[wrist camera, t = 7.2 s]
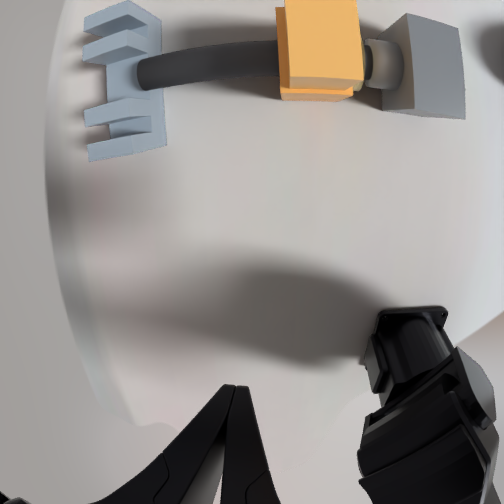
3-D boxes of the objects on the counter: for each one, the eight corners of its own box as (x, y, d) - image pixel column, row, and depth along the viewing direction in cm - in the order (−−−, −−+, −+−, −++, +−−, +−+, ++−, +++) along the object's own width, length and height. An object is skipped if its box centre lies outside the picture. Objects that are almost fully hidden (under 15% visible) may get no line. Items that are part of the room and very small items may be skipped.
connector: (420, 45, 12) (457, 28, 8) (424, 116, 14) (465, 119, 10) (354, 33, 13) (376, 6, 8) (359, 108, 15) (384, 104, 10)
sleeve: (333, 34, 13) (363, -21, 6) (337, 101, 15) (375, 87, 8) (278, 33, 13) (270, -26, 6) (282, 100, 15) (277, 82, 8)
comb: (161, 20, 14) (128, -1, 9) (166, 145, 17) (133, 154, 13) (122, 31, 14) (84, 17, 10) (127, 150, 18) (88, 161, 14)
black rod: (395, 54, 12) (408, 47, 10) (397, 86, 13) (410, 83, 11) (151, 61, 14) (136, 56, 12) (153, 92, 14) (137, 89, 13)
